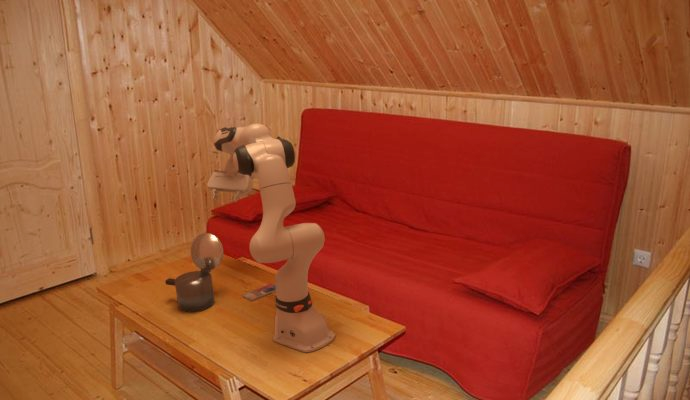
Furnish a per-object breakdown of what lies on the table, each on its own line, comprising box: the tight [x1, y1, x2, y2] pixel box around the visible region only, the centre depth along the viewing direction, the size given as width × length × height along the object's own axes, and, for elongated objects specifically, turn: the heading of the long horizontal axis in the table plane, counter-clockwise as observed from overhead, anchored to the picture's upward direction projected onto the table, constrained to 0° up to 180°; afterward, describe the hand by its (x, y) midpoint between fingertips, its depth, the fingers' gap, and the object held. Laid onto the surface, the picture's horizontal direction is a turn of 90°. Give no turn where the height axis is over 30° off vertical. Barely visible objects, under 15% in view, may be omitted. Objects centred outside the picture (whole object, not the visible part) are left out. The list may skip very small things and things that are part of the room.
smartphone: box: [242, 283, 276, 302], centre depth 228 cm, size 7×1×15 cm
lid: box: [190, 232, 224, 273], centre depth 226 cm, size 16×15×3 cm
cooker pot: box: [165, 270, 216, 313], centre depth 221 cm, size 14×20×11 cm
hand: (224, 200), depth 234 cm, fingers open, 8 cm apart
